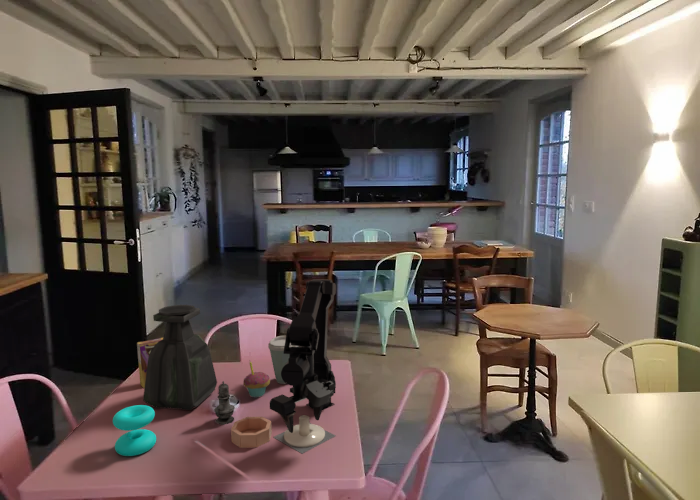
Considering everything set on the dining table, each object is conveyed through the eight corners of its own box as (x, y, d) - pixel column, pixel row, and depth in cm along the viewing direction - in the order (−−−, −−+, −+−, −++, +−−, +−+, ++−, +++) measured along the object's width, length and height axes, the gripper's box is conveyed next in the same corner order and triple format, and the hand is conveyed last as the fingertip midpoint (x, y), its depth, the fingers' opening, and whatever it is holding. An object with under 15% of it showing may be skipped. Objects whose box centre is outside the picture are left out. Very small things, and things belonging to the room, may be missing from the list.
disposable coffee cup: (297, 386, 163) (296, 344, 161) (266, 387, 163) (265, 344, 161) (301, 374, 173) (300, 334, 171) (271, 375, 173) (270, 334, 171)
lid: (306, 422, 137) (306, 404, 136) (333, 435, 129) (333, 417, 128) (275, 437, 129) (275, 418, 128) (302, 452, 121) (301, 432, 121)
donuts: (139, 400, 131) (162, 408, 126) (141, 434, 132) (164, 444, 127) (104, 414, 122) (127, 424, 117) (107, 451, 124) (130, 462, 118)
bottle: (219, 391, 160) (215, 303, 156) (195, 414, 144) (190, 316, 140) (170, 388, 163) (165, 301, 159) (141, 409, 147) (134, 314, 143)
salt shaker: (229, 426, 136) (228, 385, 135) (210, 424, 137) (208, 384, 136) (238, 416, 142) (237, 377, 140) (220, 414, 143) (218, 376, 142)
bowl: (256, 426, 136) (256, 413, 135) (278, 439, 129) (277, 425, 128) (225, 440, 129) (224, 426, 128) (247, 454, 122) (246, 439, 121)
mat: (306, 423, 137) (306, 421, 137) (336, 437, 129) (336, 435, 129) (273, 439, 129) (273, 437, 129) (302, 455, 121) (302, 453, 120)
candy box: (165, 378, 171) (163, 336, 170) (169, 381, 168) (167, 339, 166) (139, 384, 166) (136, 341, 164) (142, 388, 163) (139, 345, 161)
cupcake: (247, 401, 152) (246, 365, 150) (240, 391, 159) (239, 357, 158) (273, 396, 156) (272, 360, 154) (265, 386, 163) (264, 352, 162)
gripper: (295, 389, 114) (297, 450, 116) (349, 368, 128) (350, 423, 130) (267, 377, 122) (269, 435, 124) (321, 358, 135) (322, 410, 137)
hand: (304, 425), depth 129 cm, fingers open, 9 cm apart
